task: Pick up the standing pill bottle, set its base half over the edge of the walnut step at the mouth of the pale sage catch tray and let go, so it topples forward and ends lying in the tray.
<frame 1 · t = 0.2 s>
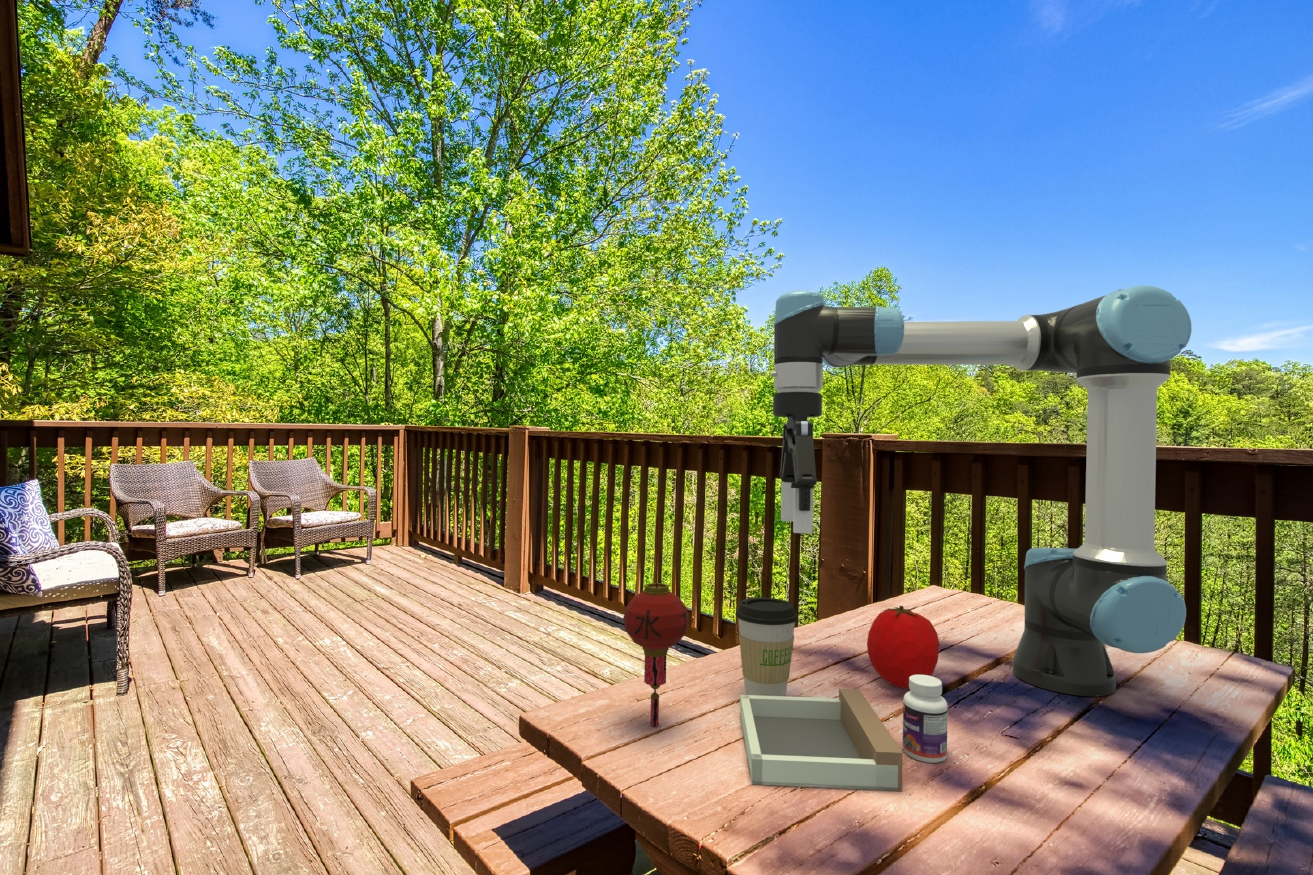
hand: (795, 526, 99), 27 cm above the table, fingers open, 13 cm apart
catch tray: (809, 748, 84), on the table
lantern: (654, 726, 90), on the table
pill bottle: (924, 755, 83), on the table
coffee cup: (765, 699, 100), on the table
tomato: (902, 685, 106), on the table
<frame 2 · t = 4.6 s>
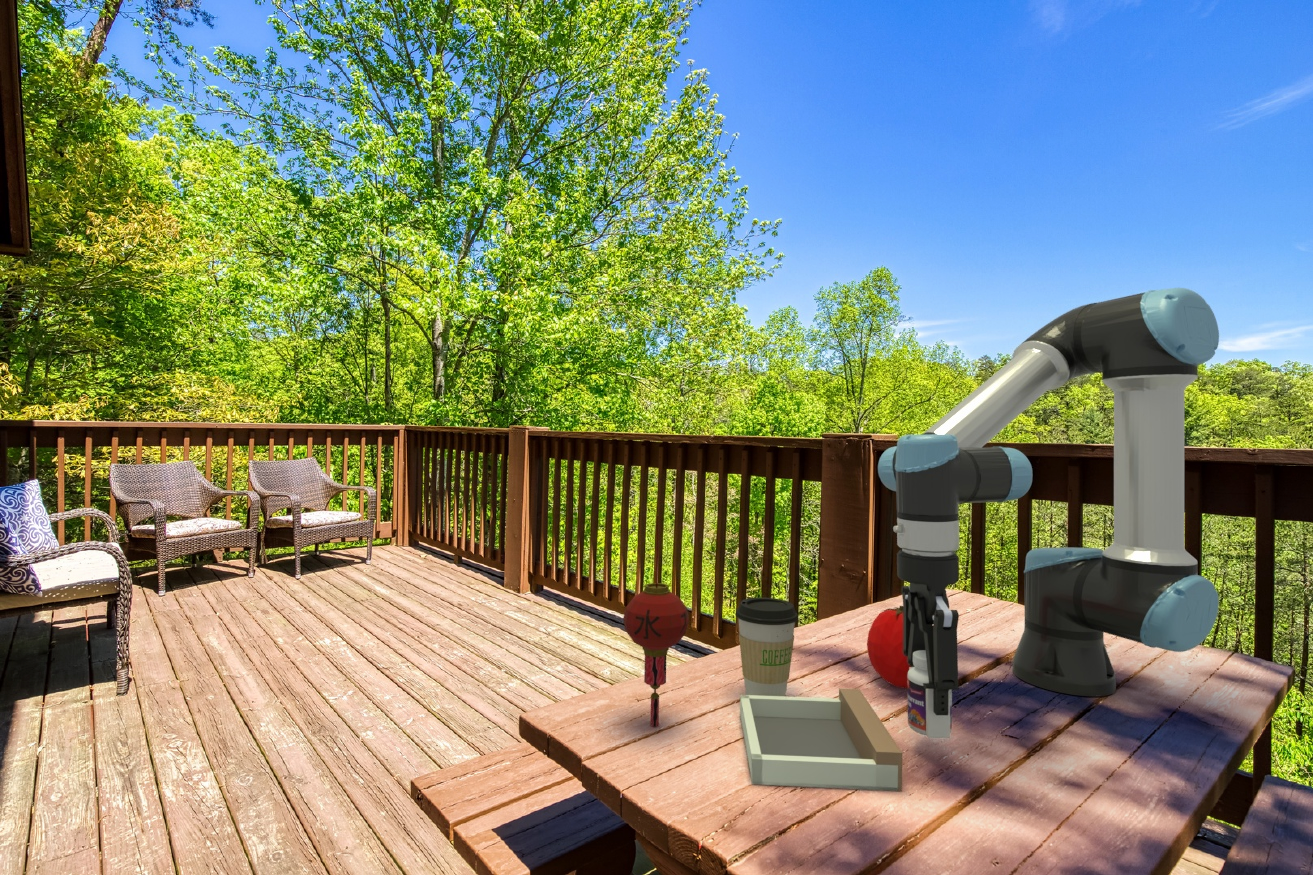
hand: (929, 725, 83), 4 cm above the table, fingers closed on pill bottle, 5 cm apart
pill bottle: (929, 729, 83), point 3 cm above the table, touching gripper
everything else where it was.
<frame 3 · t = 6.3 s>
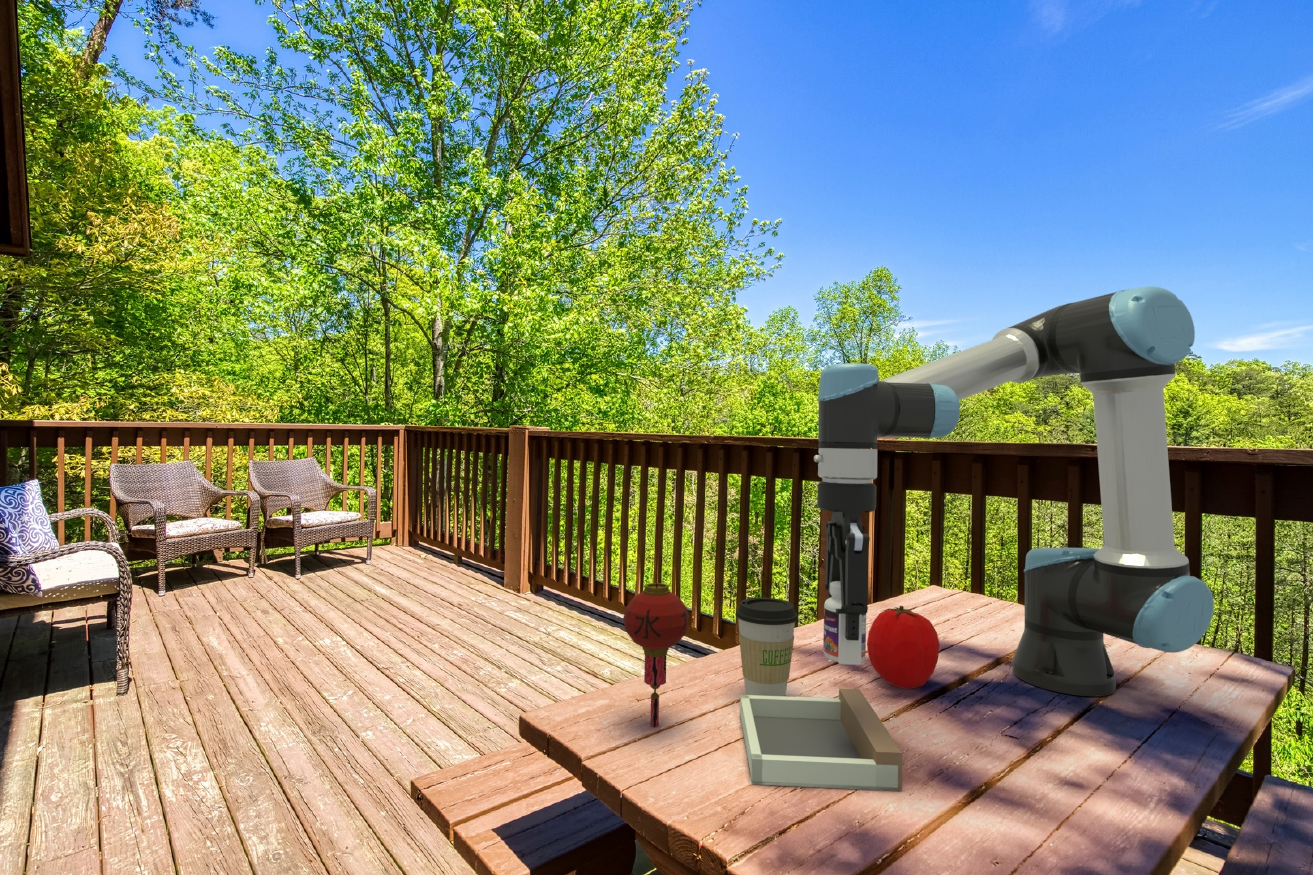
hand: (843, 654, 83), 13 cm above the table, fingers closed on pill bottle, 5 cm apart
pill bottle: (844, 658, 83), point 12 cm above the table, touching gripper
everything else where it was.
when the fingers open (5 cm above the table, at t = 8.3 s): pill bottle drops 1 cm, resting on catch tray.
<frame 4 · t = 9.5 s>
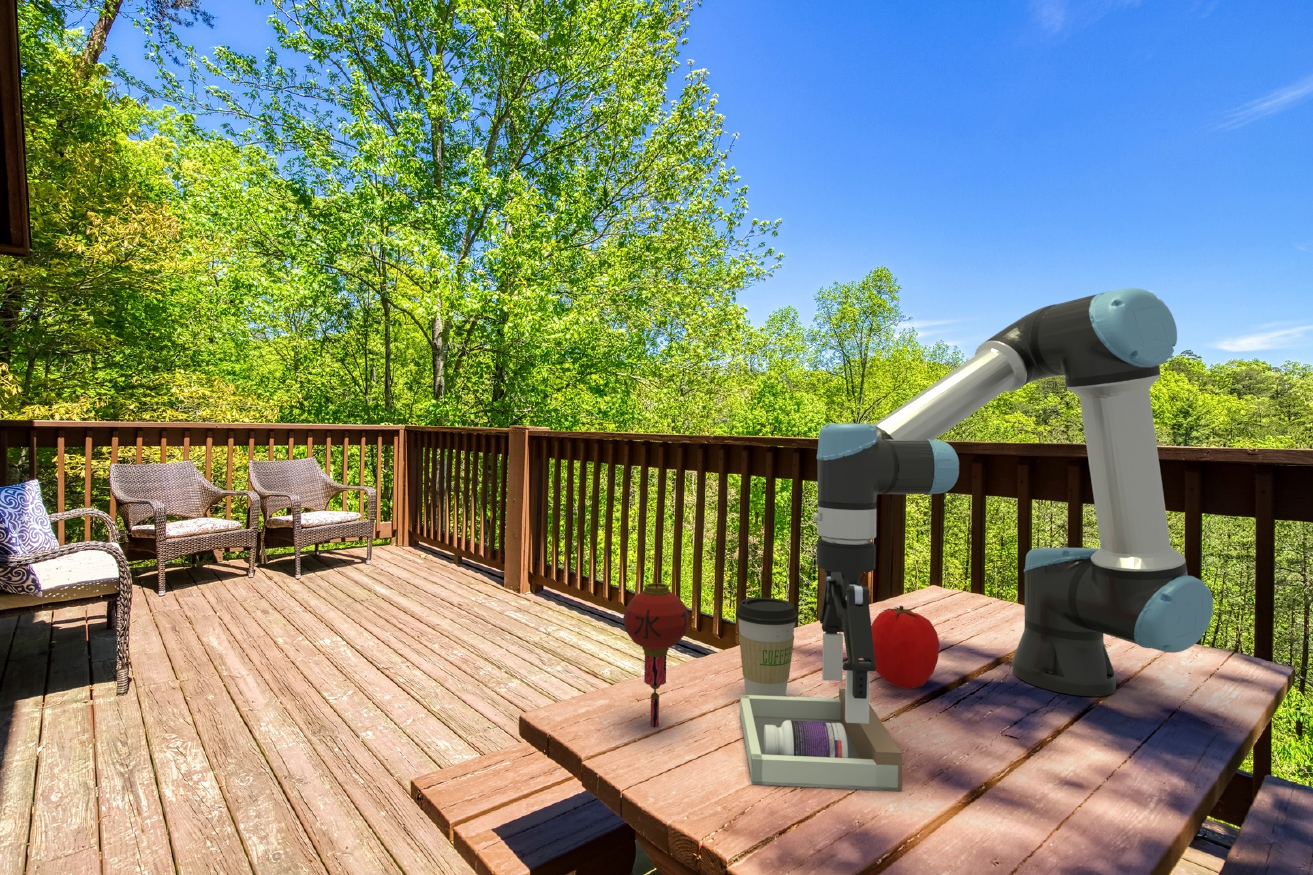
hand: (843, 699, 83), 7 cm above the table, fingers open, 13 cm apart
pill bottle: (845, 746, 78), point 3 cm above the table, touching catch tray
everything else where it was.
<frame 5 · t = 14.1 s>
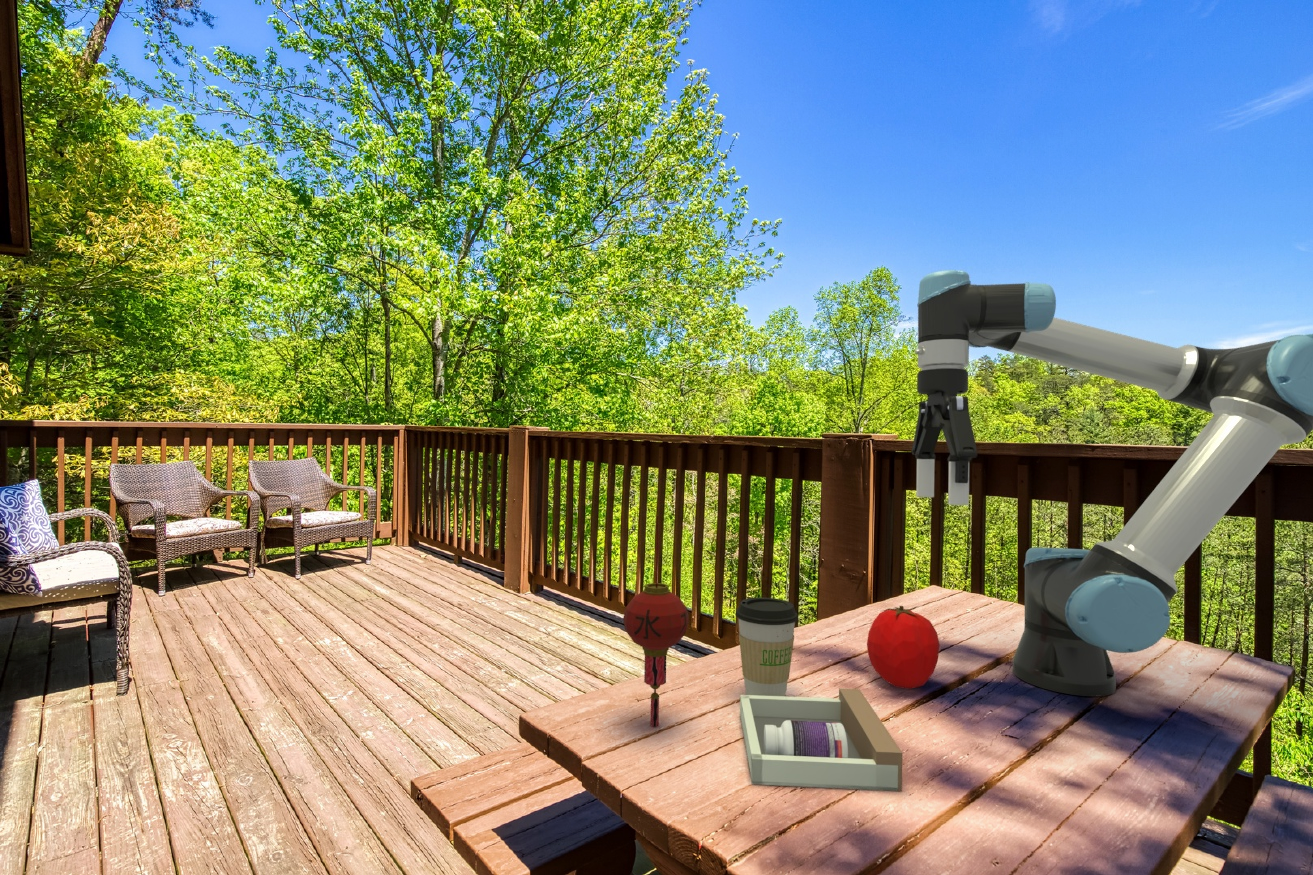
hand: (940, 500, 101), 32 cm above the table, fingers open, 13 cm apart
nothing on the table moved.
at the end: pill bottle tilted 90°; pill bottle inside the target area (7.1 cm from its centre), point 3.1 cm above the table; the gripper is holding nothing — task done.
